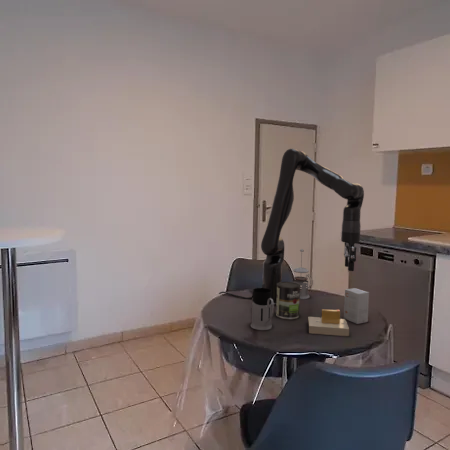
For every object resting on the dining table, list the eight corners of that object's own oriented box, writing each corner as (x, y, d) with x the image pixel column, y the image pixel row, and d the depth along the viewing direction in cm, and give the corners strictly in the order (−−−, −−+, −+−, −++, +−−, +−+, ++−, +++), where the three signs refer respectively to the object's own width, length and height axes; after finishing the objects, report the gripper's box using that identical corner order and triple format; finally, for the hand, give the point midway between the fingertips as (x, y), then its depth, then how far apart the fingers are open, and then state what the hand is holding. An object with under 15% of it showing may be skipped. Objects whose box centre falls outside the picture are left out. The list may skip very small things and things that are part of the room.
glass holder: (266, 321, 161) (267, 286, 159) (282, 333, 147) (283, 295, 146) (247, 323, 158) (247, 288, 156) (262, 336, 144) (263, 297, 143)
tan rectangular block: (321, 322, 151) (322, 309, 151) (321, 321, 153) (321, 308, 153) (339, 323, 150) (340, 311, 150) (339, 322, 152) (339, 309, 152)
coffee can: (304, 317, 166) (305, 285, 165) (285, 320, 162) (286, 288, 160) (289, 310, 176) (290, 280, 174) (271, 313, 171) (272, 282, 169)
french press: (298, 292, 206) (299, 247, 204) (316, 297, 198) (318, 249, 195) (286, 295, 200) (288, 248, 197) (305, 300, 191) (307, 251, 189)
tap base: (309, 333, 148) (309, 325, 148) (307, 323, 159) (308, 316, 159) (349, 336, 145) (349, 328, 145) (345, 326, 156) (345, 318, 156)
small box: (368, 322, 161) (369, 292, 160) (357, 324, 159) (358, 293, 157) (354, 316, 169) (355, 287, 167) (343, 318, 166) (344, 289, 165)
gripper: (339, 228, 168) (337, 265, 169) (344, 232, 154) (342, 271, 155) (356, 229, 166) (355, 265, 168) (363, 233, 152) (361, 272, 154)
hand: (349, 268), depth 162 cm, fingers open, 8 cm apart
